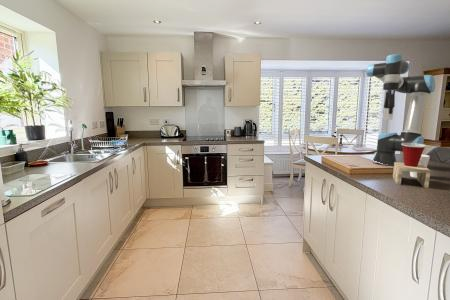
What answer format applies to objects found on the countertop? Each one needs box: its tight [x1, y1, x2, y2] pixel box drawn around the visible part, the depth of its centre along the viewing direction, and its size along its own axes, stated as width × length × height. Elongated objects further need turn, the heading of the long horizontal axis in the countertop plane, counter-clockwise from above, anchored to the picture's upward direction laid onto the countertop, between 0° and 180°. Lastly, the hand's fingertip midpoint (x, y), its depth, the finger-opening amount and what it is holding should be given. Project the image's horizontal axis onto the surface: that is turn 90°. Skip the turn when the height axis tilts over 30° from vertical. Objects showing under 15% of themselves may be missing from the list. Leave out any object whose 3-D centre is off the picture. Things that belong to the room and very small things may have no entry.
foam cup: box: [409, 154, 431, 179], centre depth 146 cm, size 10×9×13 cm
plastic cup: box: [401, 143, 427, 167], centre depth 134 cm, size 11×11×12 cm
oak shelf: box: [392, 161, 432, 189], centre depth 135 cm, size 18×13×9 cm
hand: (387, 119), depth 147 cm, fingers open, 13 cm apart
